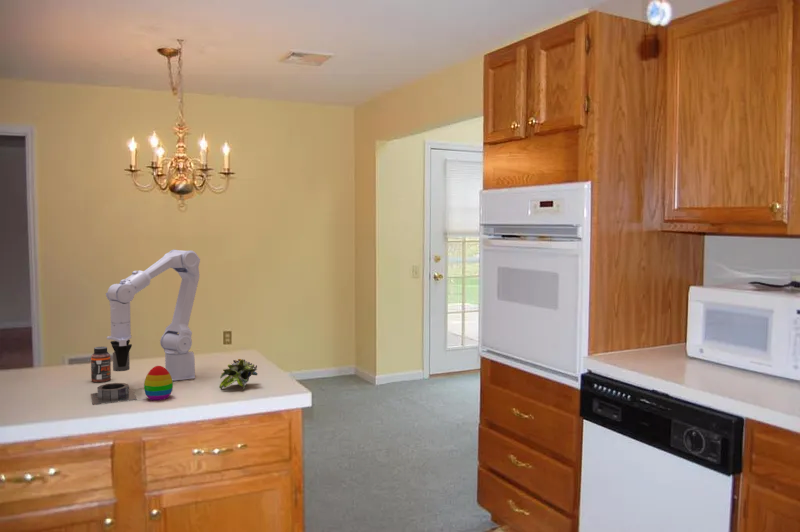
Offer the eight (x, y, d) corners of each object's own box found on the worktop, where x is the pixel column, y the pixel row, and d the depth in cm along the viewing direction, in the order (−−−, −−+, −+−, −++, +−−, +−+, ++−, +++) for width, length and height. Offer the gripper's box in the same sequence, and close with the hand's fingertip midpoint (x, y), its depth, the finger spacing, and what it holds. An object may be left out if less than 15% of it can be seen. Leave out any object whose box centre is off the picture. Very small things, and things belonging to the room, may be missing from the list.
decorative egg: (148, 403, 186) (147, 370, 185) (141, 397, 193) (140, 365, 192) (176, 399, 191) (175, 366, 190) (168, 392, 197) (167, 361, 197)
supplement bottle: (103, 383, 208) (102, 349, 207) (87, 382, 209) (86, 348, 208) (114, 378, 214) (114, 346, 213) (99, 377, 215) (98, 345, 214)
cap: (128, 367, 201) (128, 349, 201) (130, 370, 197) (130, 352, 197) (112, 368, 199) (112, 351, 198) (113, 371, 195) (113, 354, 194)
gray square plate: (132, 389, 200) (132, 379, 200) (136, 399, 190) (136, 388, 190) (90, 394, 195) (90, 384, 194) (92, 404, 184) (92, 393, 184)
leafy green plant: (239, 401, 208) (257, 368, 212) (249, 403, 199) (268, 369, 203) (210, 384, 204) (229, 352, 208) (218, 386, 195) (238, 352, 199)
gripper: (105, 319, 201) (105, 361, 202) (108, 326, 189) (108, 370, 190) (129, 318, 205) (129, 359, 206) (133, 324, 192) (134, 368, 193)
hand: (121, 364), depth 198 cm, fingers closed on cap, 5 cm apart
